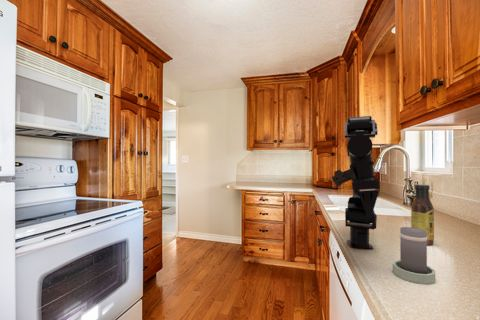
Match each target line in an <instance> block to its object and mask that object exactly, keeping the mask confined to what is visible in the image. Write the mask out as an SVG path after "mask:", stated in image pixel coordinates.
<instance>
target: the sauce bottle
mask: <svg viewBox="0 0 480 320" xmlns="http://www.w3.org/2000/svg"><path fill="white" fill-rule="evenodd" d="M414 190H415V198H414V199H413V200H412V202H411V212H410V217H411V218H410V220H411V221H410V222H411V226H410V227H411V228H418V229H422V230H425V231H427V246H428V245H429V246H431V245H434V243H435V241H434V240H435V208H434V206H433V204H432V201H431V199H430V185H429V184H414Z"/></svg>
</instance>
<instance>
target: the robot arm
mask: <svg viewBox="0 0 480 320" xmlns="http://www.w3.org/2000/svg"><path fill="white" fill-rule="evenodd" d="M372 118H373V117H372V116H371V115H368V116H367V115H366V116H353V117H348V118H347V120H346V121H345V122H344V139H345V140H347V139H348V140H347V145H346V147H347V149H346V151H347V157H348V158H349V169H346V170H344V171H342V170H341V169H338V170H335V171H334V175H333V176H331V180H332V182H333V183H334V185H335V187H336V188H337V187H340V186H341V185H342V184H345V183H347V182H349V181H351V188H352V189H351V190H352V196H349V198H348V201H347V207H346V208H345V209H344V210H345V212H344V215H345V216H344V217H345V218H344V219H345V221H344V222H345V224H344V225H345V227H346V228H347V227H349V239H347V240H346V242H347V243H348V245H349V246H350V247H351V248H352V249H353V248H356V249H367V250H368V249H369V250H373V249H374V247H373V245H371V243H370V230H373V231H374V230H375V229H377V221H378V220H377V217H378V216H377V214H376V212H375V210H374V209H375V206H376V203H377V199H378V196H379V193H380V188H381V186H380V181H379V180H378V179H377V177H376V176H375V170H374V160H373V158H372V157H373V140H372V139H373V138H375V137H376V136H378V131H379V130H378V124H377V122H376V119H372Z"/></svg>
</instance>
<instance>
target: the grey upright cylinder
mask: <svg viewBox="0 0 480 320" xmlns="http://www.w3.org/2000/svg"><path fill="white" fill-rule="evenodd" d="M399 230H400V232H399V233H400V234H399V239H400V240H399V241H400V244H399V245H400V249H399V251H400V255H399V256H400V257H399V258H400V259H399V260H400V268H401V269H403V270H405V271H409V272H413V273H417V274H427V266H428V245H427V231H425V230H422V229H418V228H411V226H410V227H409V226H402V227H400V229H399Z"/></svg>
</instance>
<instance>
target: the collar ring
mask: <svg viewBox="0 0 480 320" xmlns="http://www.w3.org/2000/svg"><path fill="white" fill-rule="evenodd" d="M392 273H393V274H394V275H395V276H396V277H399V278H400V279H402V280H404V281H408V282H412V283H415V284H422V285H430V284H436V270H435V269H434V268H432V267H431V266H429V265H427V274H417V273H413V272H409V271H405V270H403V269H401V268H400V259H399V260H394V261H393V262H392Z"/></svg>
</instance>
